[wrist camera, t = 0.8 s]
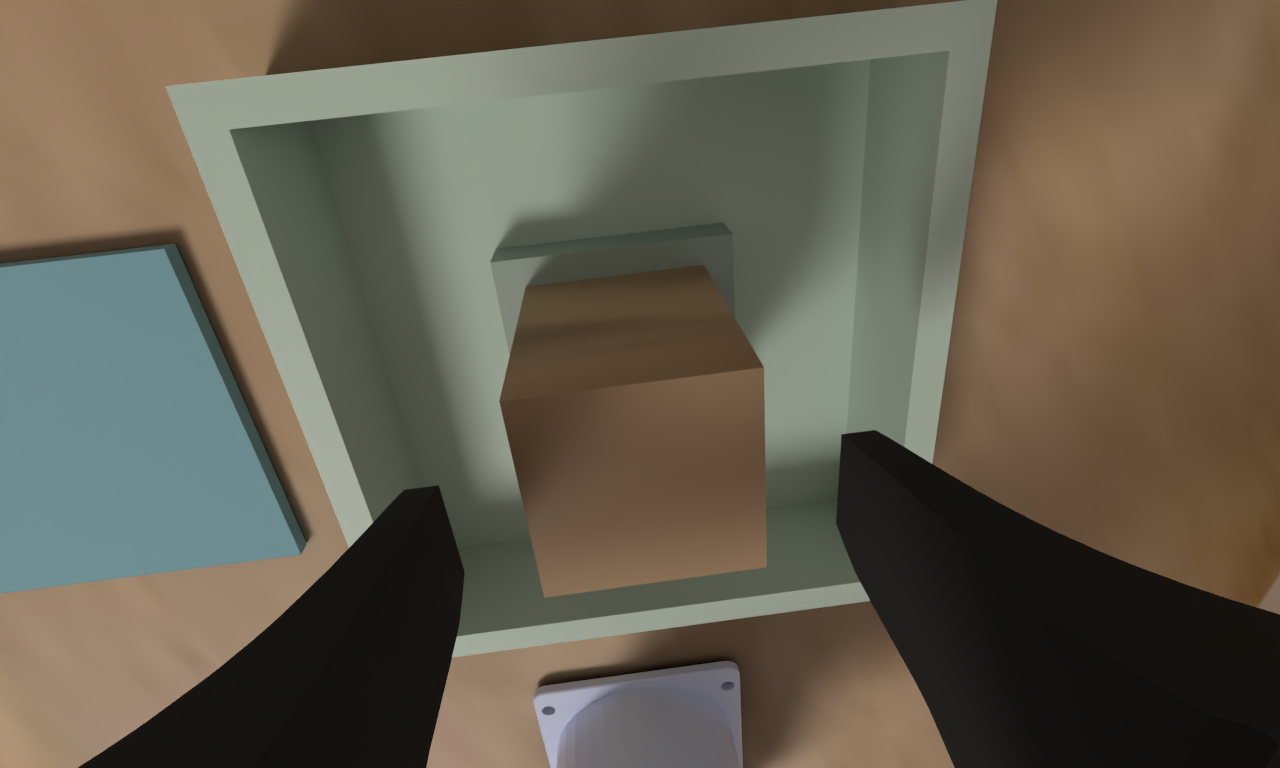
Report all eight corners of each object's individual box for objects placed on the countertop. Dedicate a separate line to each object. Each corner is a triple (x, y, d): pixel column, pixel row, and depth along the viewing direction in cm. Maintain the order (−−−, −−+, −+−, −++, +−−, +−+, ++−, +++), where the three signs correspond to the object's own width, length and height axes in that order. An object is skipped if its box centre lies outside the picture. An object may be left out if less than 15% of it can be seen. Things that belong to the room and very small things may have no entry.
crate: (855, 499, 23) (914, 595, 19) (428, 555, 22) (395, 665, 18) (892, 10, 16) (997, -3, 12) (272, 76, 15) (165, 86, 11)
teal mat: (307, 543, 21) (301, 554, 21) (-7, 584, 21) (-20, 595, 20) (175, 243, 16) (163, 248, 16) (-232, 289, 16) (-254, 296, 16)
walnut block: (712, 418, 18) (766, 567, 13) (554, 438, 18) (544, 597, 13) (703, 264, 16) (763, 367, 11) (525, 287, 16) (499, 401, 11)
